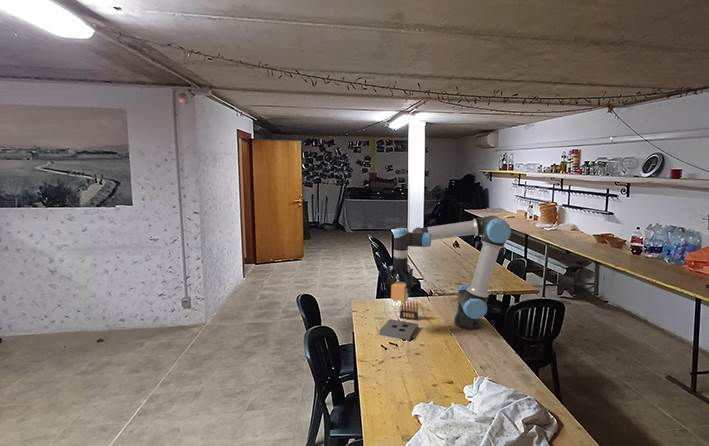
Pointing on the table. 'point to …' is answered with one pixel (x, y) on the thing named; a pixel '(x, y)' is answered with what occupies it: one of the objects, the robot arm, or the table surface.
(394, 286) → the cardboard-colored brick
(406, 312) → the ammunition clip
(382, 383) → the table surface
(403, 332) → the socket plate
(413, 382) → the table surface
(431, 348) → the table surface
